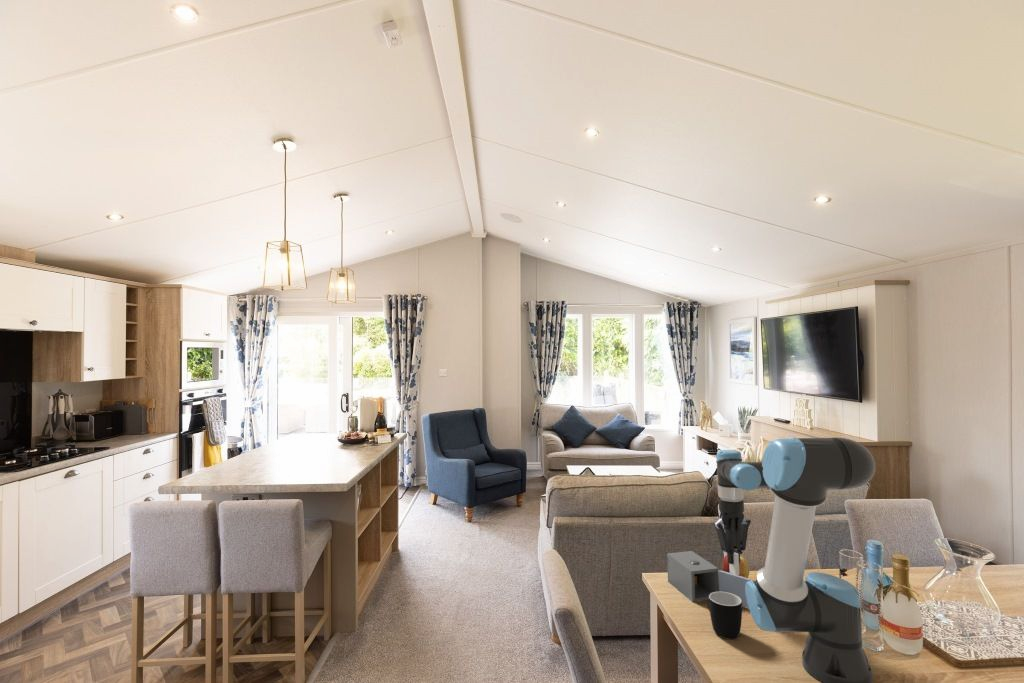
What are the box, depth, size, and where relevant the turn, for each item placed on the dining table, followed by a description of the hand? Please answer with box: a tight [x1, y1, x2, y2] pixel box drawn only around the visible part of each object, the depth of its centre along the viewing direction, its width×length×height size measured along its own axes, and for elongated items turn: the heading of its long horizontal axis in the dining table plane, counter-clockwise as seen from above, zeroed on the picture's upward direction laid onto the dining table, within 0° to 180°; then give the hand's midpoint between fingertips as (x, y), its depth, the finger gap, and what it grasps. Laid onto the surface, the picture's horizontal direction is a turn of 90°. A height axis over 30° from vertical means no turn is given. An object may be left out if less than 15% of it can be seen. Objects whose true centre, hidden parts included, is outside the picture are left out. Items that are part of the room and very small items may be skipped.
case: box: [666, 550, 719, 603], centre depth 175 cm, size 16×10×10 cm, turn 12°
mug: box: [707, 592, 743, 640], centre depth 148 cm, size 12×9×10 cm
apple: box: [721, 554, 750, 579], centre depth 180 cm, size 9×9×10 cm
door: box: [718, 569, 751, 609], centre depth 164 cm, size 2×10×9 cm, turn 42°
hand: (734, 573), depth 160 cm, fingers closed
